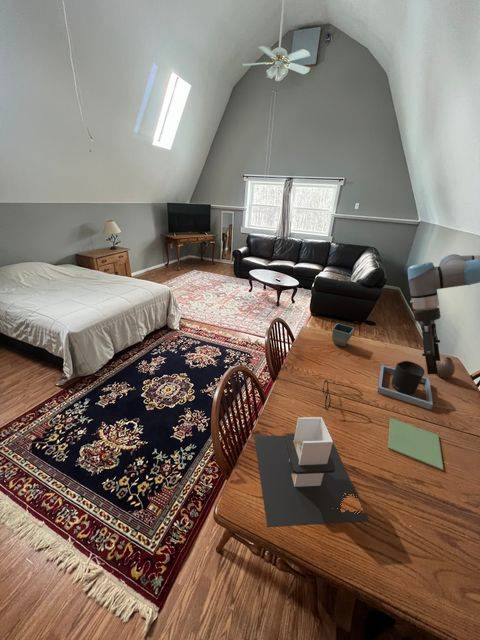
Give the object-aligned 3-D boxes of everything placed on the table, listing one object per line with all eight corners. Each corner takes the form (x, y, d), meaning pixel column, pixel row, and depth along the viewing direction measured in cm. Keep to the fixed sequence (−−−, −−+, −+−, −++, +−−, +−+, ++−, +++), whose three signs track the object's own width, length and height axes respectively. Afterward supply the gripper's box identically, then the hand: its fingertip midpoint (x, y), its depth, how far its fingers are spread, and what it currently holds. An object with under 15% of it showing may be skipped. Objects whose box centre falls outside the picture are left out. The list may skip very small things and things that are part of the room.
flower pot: (328, 344, 138) (332, 328, 134) (334, 337, 145) (337, 322, 141) (346, 349, 134) (350, 334, 130) (350, 342, 140) (354, 327, 136)
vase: (449, 382, 113) (458, 365, 109) (430, 375, 117) (438, 358, 113) (452, 375, 118) (460, 358, 114) (433, 368, 122) (440, 352, 118)
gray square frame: (427, 383, 112) (429, 378, 111) (430, 410, 98) (433, 404, 96) (380, 369, 120) (381, 364, 118) (376, 392, 105) (378, 387, 104)
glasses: (322, 387, 106) (325, 377, 104) (360, 396, 105) (364, 386, 103) (325, 413, 94) (330, 402, 92) (368, 424, 92) (374, 413, 90)
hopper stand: (254, 436, 83) (257, 395, 76) (329, 434, 85) (339, 394, 78) (267, 526, 61) (274, 480, 54) (369, 520, 63) (388, 475, 56)
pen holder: (387, 378, 114) (394, 358, 109) (412, 382, 112) (420, 363, 107) (392, 392, 105) (400, 371, 101) (419, 397, 103) (428, 376, 99)
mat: (437, 436, 87) (438, 434, 86) (442, 470, 76) (443, 469, 75) (389, 418, 93) (390, 417, 92) (387, 448, 81) (388, 447, 81)
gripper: (417, 303, 104) (425, 355, 106) (407, 316, 86) (417, 379, 88) (441, 301, 99) (449, 355, 102) (436, 314, 81) (446, 381, 83)
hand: (434, 367), depth 95 cm, fingers open, 13 cm apart
